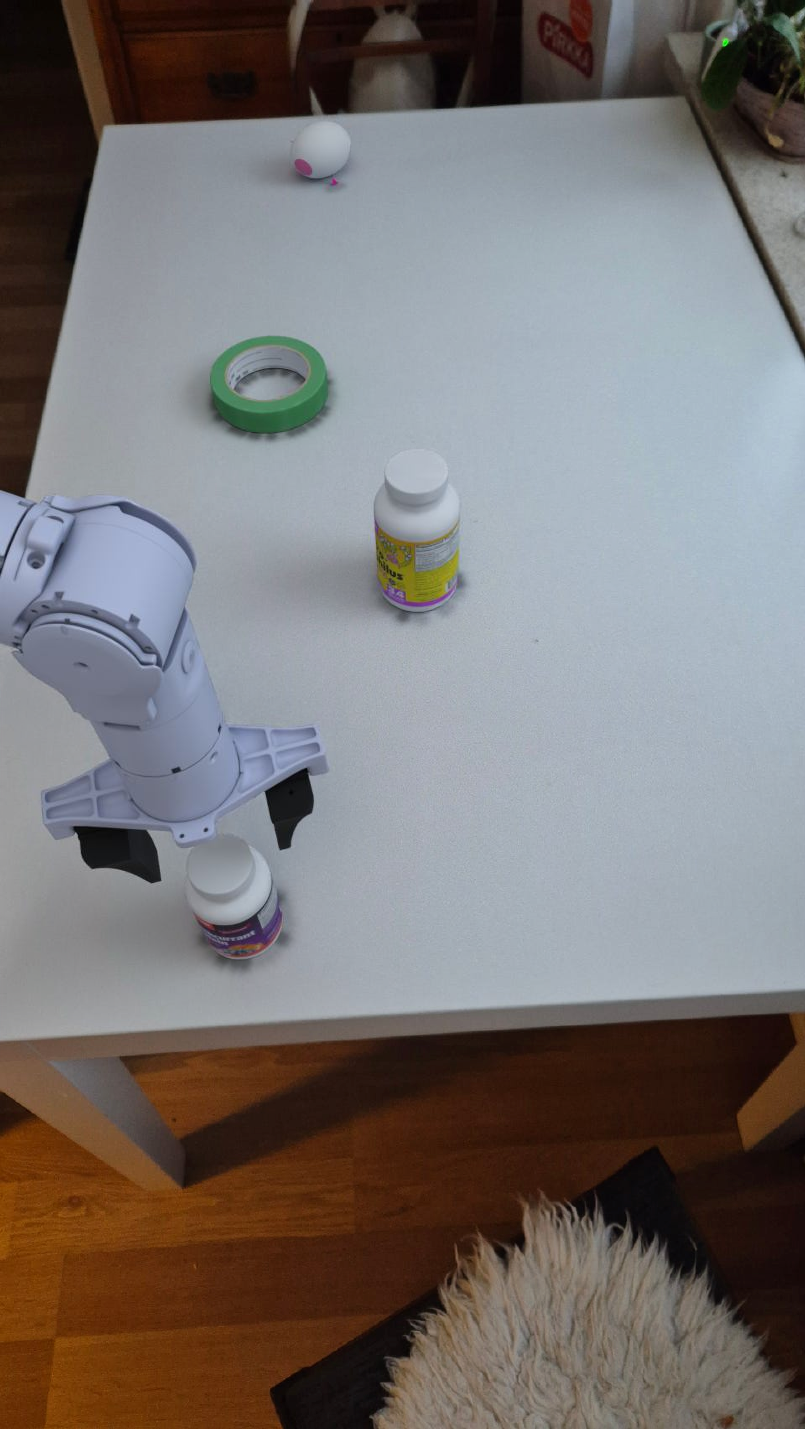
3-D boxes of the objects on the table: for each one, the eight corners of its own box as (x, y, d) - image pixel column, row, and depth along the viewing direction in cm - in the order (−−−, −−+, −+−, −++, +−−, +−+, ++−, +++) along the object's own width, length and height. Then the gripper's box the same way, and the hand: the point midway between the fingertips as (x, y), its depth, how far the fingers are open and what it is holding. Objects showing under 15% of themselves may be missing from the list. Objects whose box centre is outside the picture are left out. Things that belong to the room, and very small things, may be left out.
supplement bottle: (367, 568, 85) (358, 451, 75) (440, 546, 87) (441, 428, 76) (394, 625, 82) (389, 512, 71) (470, 602, 83) (475, 487, 72)
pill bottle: (193, 951, 67) (160, 893, 59) (220, 878, 70) (192, 813, 62) (270, 970, 66) (247, 913, 58) (294, 895, 69) (276, 831, 61)
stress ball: (339, 184, 124) (319, 126, 121) (371, 169, 117) (350, 106, 115) (289, 204, 121) (266, 145, 119) (318, 189, 115) (295, 126, 112)
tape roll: (302, 443, 94) (299, 421, 92) (195, 420, 96) (189, 397, 94) (344, 370, 100) (342, 347, 97) (242, 349, 102) (238, 326, 100)
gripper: (13, 836, 45) (101, 945, 56) (329, 758, 47) (354, 879, 58) (6, 710, 49) (90, 836, 60) (298, 641, 50) (327, 777, 62)
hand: (218, 850), depth 59 cm, fingers open, 7 cm apart
